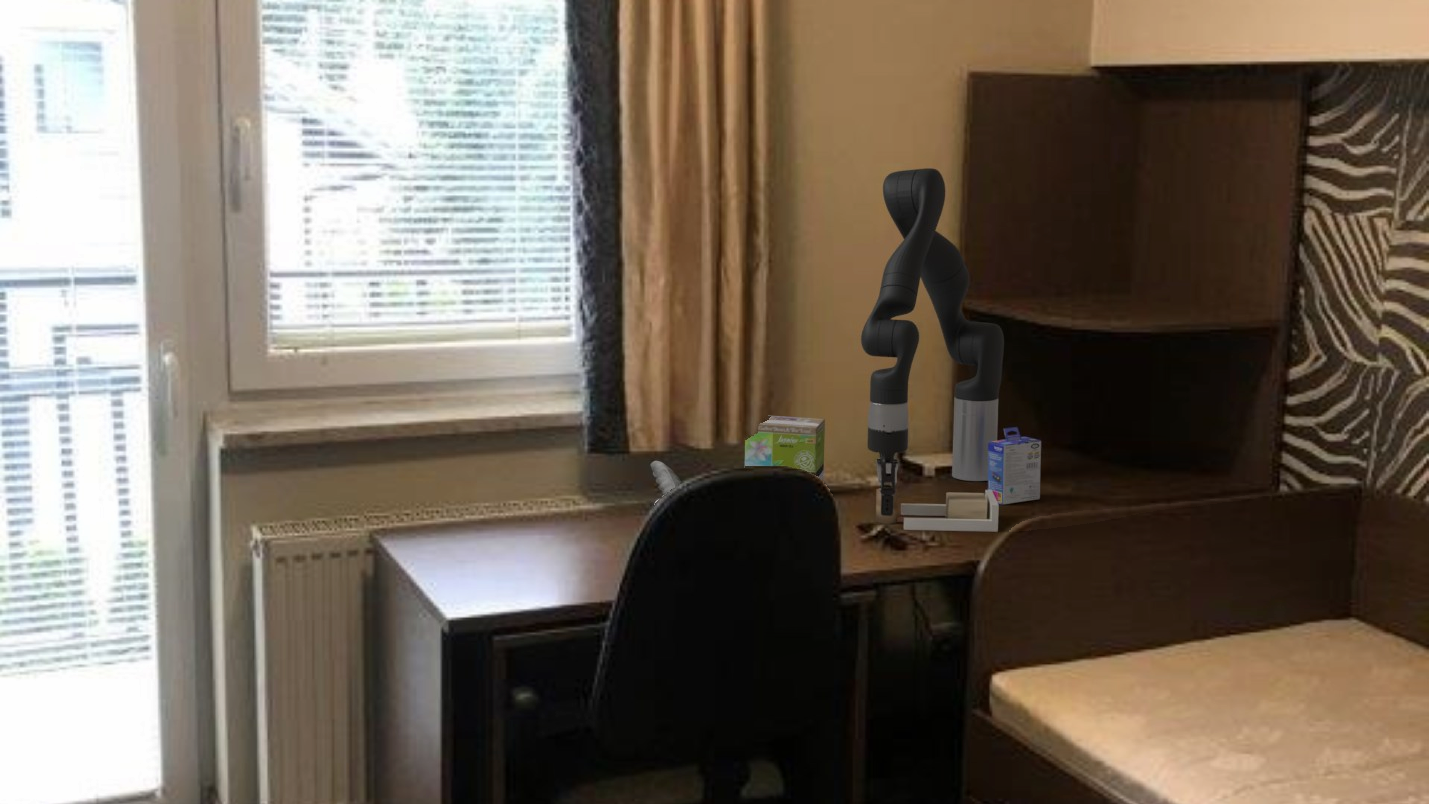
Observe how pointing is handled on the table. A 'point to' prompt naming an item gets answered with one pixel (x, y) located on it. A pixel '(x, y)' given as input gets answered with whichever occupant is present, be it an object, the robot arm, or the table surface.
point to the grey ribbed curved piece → (664, 477)
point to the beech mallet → (955, 507)
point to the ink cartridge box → (1014, 468)
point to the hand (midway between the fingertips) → (886, 509)
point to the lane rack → (950, 524)
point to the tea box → (788, 444)
